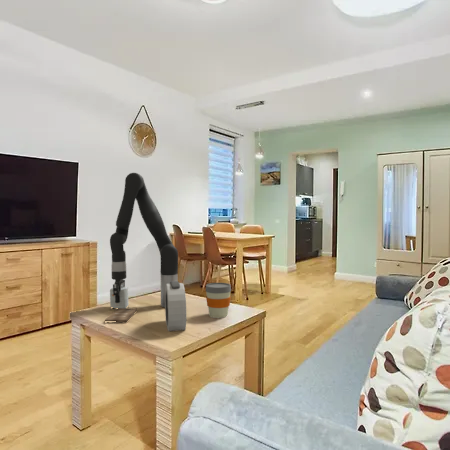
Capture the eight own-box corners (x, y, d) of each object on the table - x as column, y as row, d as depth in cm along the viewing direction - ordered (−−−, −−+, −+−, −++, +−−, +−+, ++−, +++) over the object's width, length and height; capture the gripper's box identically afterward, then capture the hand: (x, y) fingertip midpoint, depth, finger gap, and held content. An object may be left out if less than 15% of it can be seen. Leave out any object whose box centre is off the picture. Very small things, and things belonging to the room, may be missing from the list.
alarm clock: (165, 319, 169) (164, 278, 168) (181, 318, 170) (180, 277, 170) (168, 334, 148) (168, 287, 147) (186, 332, 150) (186, 286, 149)
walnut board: (137, 311, 183) (137, 308, 183) (126, 322, 164) (126, 319, 164) (117, 311, 183) (117, 308, 183) (104, 323, 164) (104, 319, 164)
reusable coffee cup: (228, 319, 168) (228, 288, 167) (202, 318, 170) (202, 287, 170) (233, 312, 180) (233, 282, 180) (209, 311, 183) (209, 282, 182)
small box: (128, 306, 192) (128, 287, 192) (124, 309, 187) (124, 289, 187) (114, 306, 193) (114, 287, 193) (110, 309, 188) (109, 289, 187)
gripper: (122, 272, 182) (122, 304, 183) (129, 267, 197) (130, 298, 197) (107, 272, 182) (107, 304, 183) (116, 267, 197) (116, 298, 197)
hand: (119, 301), depth 190 cm, fingers closed on small box, 6 cm apart
